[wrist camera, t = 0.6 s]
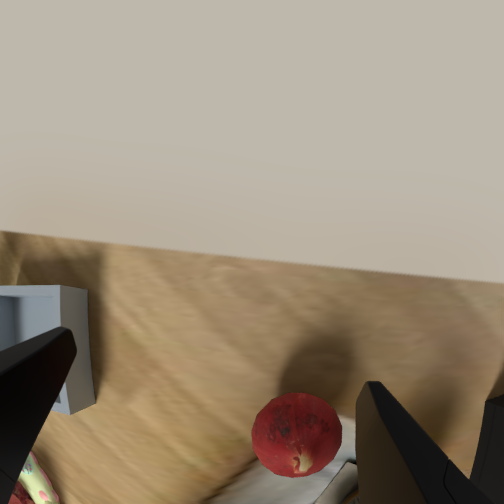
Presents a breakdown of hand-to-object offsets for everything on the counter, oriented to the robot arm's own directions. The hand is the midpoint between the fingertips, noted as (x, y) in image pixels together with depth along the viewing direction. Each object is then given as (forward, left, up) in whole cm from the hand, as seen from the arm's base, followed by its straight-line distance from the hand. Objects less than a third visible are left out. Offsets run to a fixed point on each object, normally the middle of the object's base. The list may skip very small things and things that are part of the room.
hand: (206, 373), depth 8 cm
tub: (-1, +18, -14) cm, 23 cm away
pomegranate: (-7, -3, -14) cm, 16 cm away
